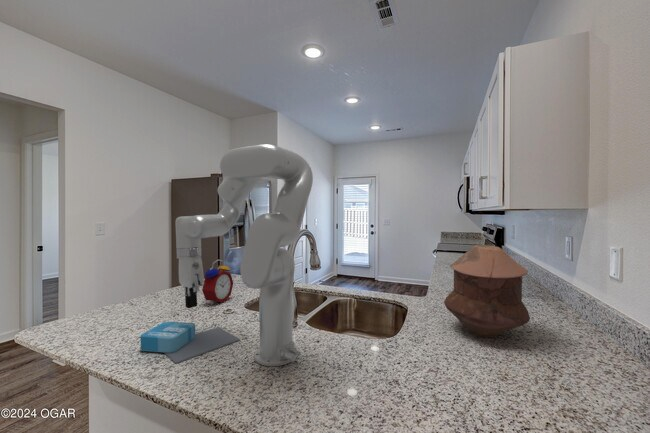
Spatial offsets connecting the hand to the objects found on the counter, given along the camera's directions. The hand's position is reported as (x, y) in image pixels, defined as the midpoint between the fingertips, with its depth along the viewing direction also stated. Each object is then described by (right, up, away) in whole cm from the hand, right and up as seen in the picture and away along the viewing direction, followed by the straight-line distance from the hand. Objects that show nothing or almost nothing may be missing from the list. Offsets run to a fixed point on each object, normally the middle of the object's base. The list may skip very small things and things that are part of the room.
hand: (191, 306), depth 98 cm
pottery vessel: (+100, -10, +2) cm, 101 cm away
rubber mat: (+5, -10, -5) cm, 12 cm away
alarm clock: (-6, -10, +39) cm, 40 cm away
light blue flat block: (-4, -8, +1) cm, 9 cm away
